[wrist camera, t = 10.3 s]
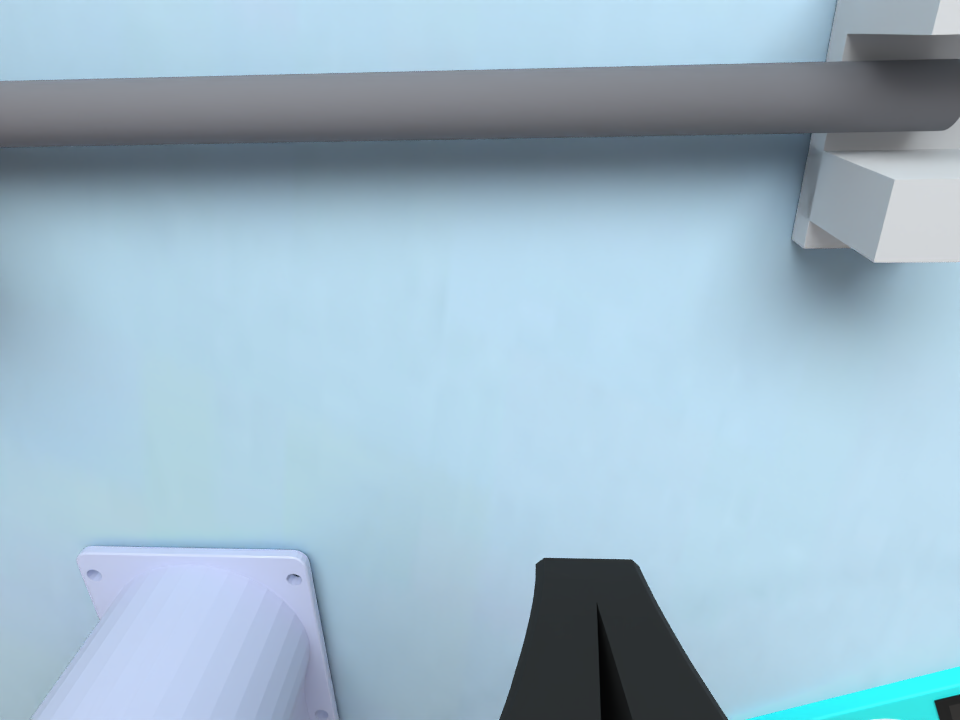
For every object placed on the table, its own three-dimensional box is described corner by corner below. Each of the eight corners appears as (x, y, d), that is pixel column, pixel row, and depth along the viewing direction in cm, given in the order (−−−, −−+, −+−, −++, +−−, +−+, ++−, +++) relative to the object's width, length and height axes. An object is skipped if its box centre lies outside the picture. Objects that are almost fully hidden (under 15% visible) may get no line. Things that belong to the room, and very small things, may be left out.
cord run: (1006, -96, 13) (1182, -141, 10) (913, 238, 17) (1021, 295, 13) (-586, -39, 16) (-915, -58, 12) (-401, 249, 19) (-618, 301, 15)
